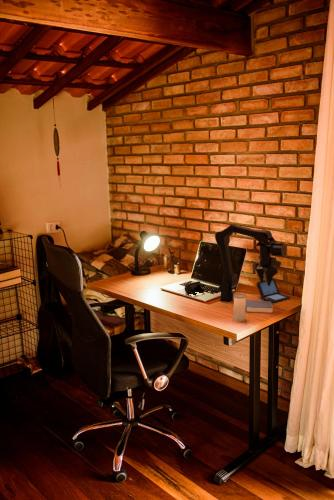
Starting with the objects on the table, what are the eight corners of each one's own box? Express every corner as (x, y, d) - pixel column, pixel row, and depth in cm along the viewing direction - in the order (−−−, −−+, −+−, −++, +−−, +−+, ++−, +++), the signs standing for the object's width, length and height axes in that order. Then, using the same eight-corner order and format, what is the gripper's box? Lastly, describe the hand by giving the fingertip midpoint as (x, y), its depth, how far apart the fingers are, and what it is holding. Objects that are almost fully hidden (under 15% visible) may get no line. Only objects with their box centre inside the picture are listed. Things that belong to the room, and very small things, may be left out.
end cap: (196, 291, 280) (196, 280, 278) (205, 293, 274) (205, 282, 273) (184, 294, 273) (184, 283, 272) (192, 297, 268) (193, 286, 266)
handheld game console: (272, 304, 258) (273, 288, 256) (254, 298, 269) (255, 282, 267) (291, 299, 267) (292, 283, 265) (273, 293, 278) (274, 278, 276)
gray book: (245, 312, 245) (245, 306, 244) (243, 305, 255) (244, 300, 254) (272, 313, 243) (273, 307, 243) (270, 306, 253) (270, 301, 253)
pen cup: (231, 321, 232) (232, 296, 229) (234, 316, 238) (235, 292, 235) (243, 322, 230) (245, 297, 227) (246, 318, 236) (247, 293, 233)
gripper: (287, 256, 237) (287, 286, 240) (271, 250, 255) (272, 278, 258) (266, 258, 235) (267, 288, 237) (252, 252, 253) (253, 280, 255)
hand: (265, 283), depth 247 cm, fingers open, 9 cm apart
